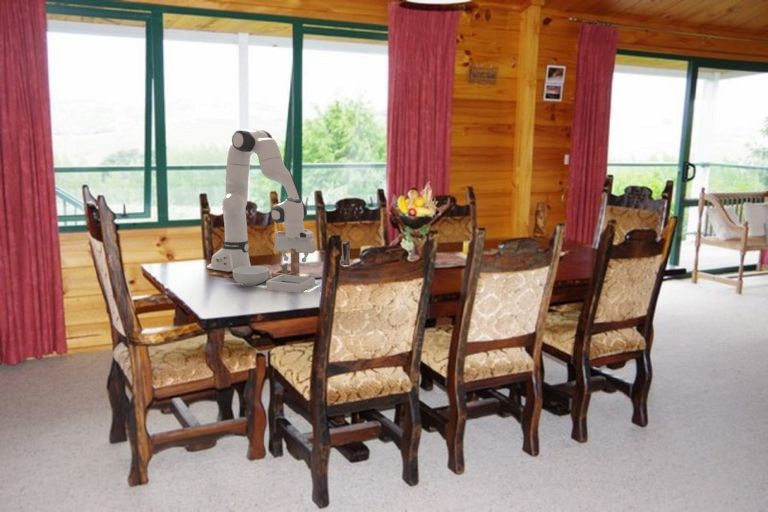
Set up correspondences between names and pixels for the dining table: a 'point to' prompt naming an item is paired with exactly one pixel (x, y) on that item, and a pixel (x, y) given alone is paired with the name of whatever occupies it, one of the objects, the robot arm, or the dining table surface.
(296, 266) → the tabbed ring
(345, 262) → the coffee box
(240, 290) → the dining table surface
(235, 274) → the cereal bowl
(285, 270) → the stake board
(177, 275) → the dining table surface
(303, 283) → the grey tray
